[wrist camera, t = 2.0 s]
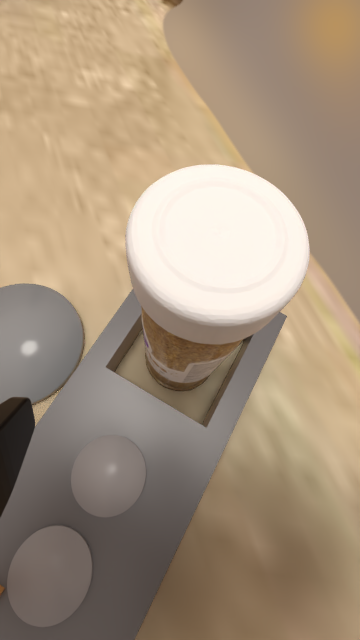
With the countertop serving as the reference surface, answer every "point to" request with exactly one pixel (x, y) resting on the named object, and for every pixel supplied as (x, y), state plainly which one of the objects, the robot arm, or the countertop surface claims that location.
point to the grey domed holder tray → (110, 492)
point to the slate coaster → (37, 341)
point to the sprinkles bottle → (210, 266)
